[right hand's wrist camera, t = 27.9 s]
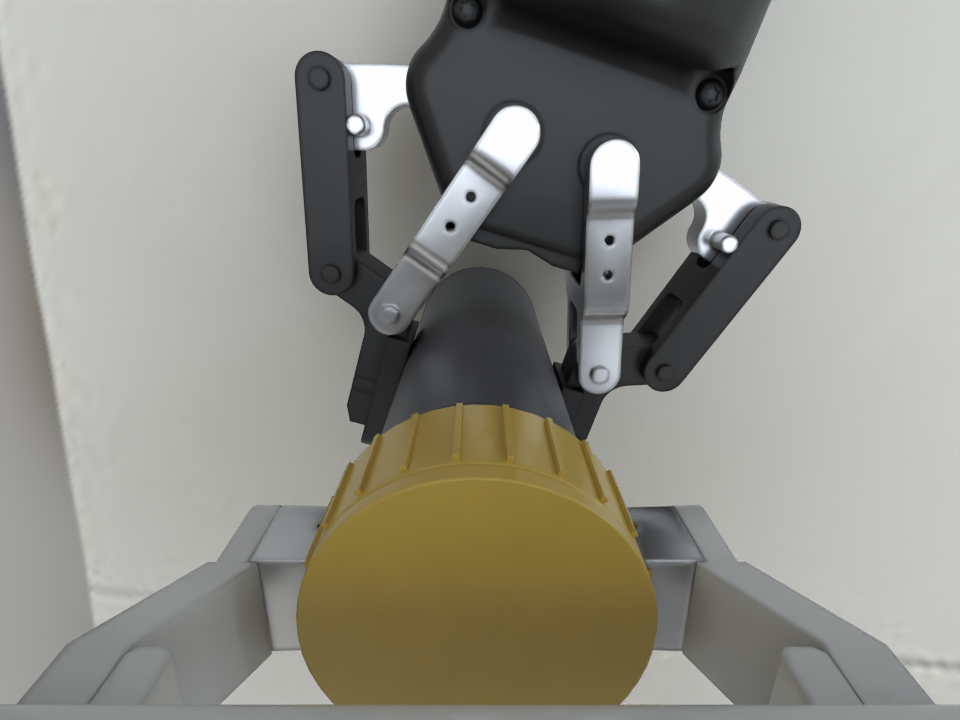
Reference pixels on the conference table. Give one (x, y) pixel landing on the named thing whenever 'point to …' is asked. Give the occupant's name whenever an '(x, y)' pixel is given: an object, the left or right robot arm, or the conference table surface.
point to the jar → (478, 352)
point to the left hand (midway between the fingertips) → (456, 453)
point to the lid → (476, 570)
